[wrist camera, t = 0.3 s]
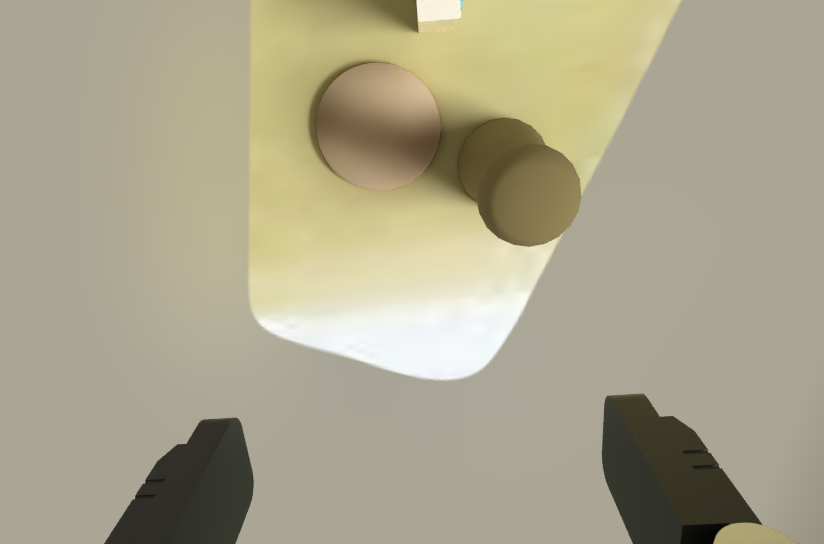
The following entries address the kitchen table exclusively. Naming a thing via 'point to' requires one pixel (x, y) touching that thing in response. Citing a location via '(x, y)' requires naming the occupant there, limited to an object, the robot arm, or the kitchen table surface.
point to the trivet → (378, 126)
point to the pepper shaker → (519, 182)
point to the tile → (438, 14)
